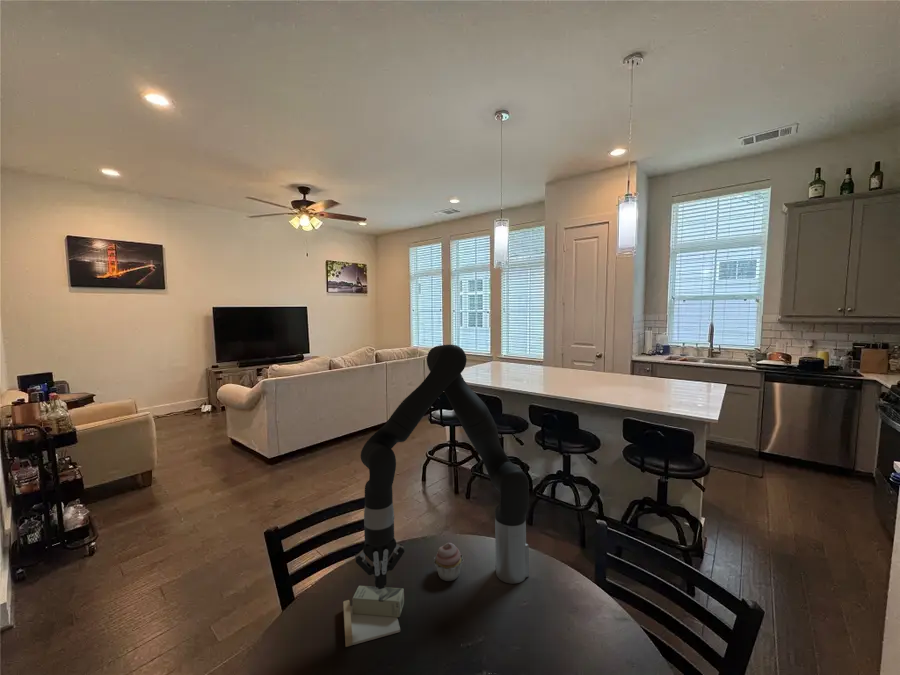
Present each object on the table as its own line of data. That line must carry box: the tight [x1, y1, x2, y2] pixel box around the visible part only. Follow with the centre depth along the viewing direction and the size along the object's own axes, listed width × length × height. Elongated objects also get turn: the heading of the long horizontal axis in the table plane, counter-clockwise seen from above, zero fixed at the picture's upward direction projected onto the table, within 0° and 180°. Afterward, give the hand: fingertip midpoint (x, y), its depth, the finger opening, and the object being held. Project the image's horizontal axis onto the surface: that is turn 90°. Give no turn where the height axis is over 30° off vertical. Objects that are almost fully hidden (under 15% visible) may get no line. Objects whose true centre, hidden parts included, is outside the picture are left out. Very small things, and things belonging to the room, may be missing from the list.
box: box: [351, 585, 405, 618], centre depth 98 cm, size 5×4×13 cm
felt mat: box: [342, 599, 401, 648], centre depth 95 cm, size 13×12×2 cm
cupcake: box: [433, 542, 465, 582], centre depth 112 cm, size 9×9×10 cm
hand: (380, 586), depth 95 cm, fingers closed
